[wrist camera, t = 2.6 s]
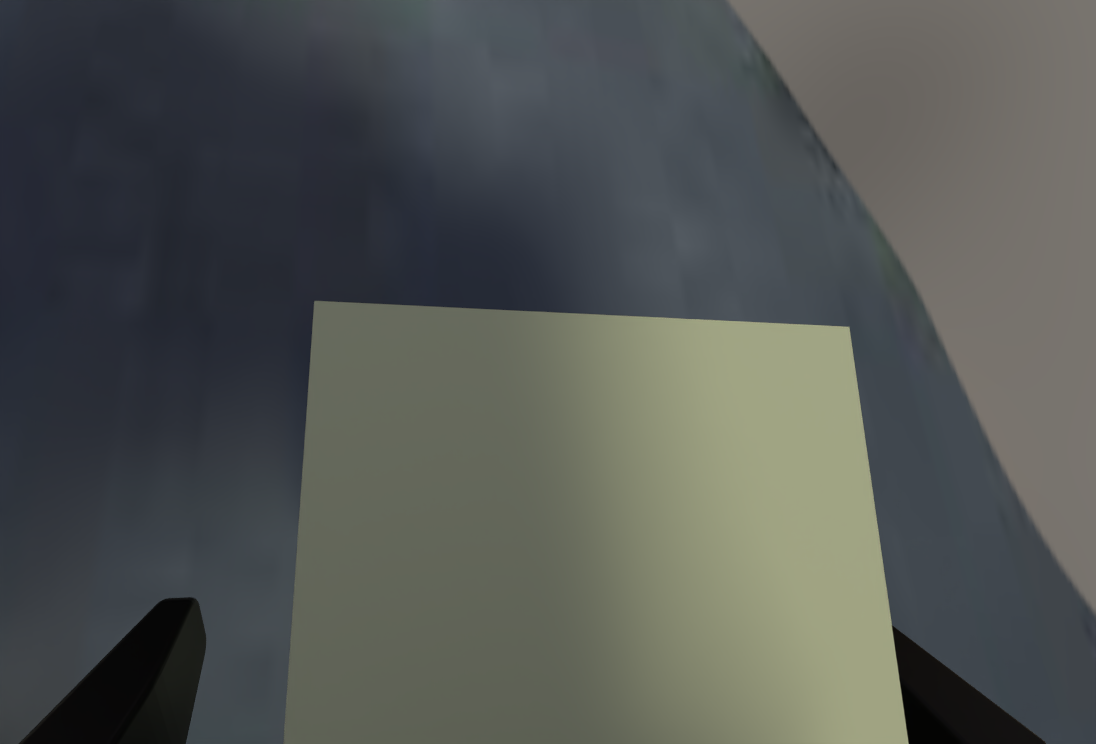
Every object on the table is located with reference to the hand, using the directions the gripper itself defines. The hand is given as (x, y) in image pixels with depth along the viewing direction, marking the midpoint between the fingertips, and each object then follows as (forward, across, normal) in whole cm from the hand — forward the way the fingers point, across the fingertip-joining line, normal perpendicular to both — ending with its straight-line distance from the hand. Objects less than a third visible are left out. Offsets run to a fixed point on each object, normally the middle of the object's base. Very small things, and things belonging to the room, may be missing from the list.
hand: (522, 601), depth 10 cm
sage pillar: (+6, 0, +6) cm, 8 cm away
